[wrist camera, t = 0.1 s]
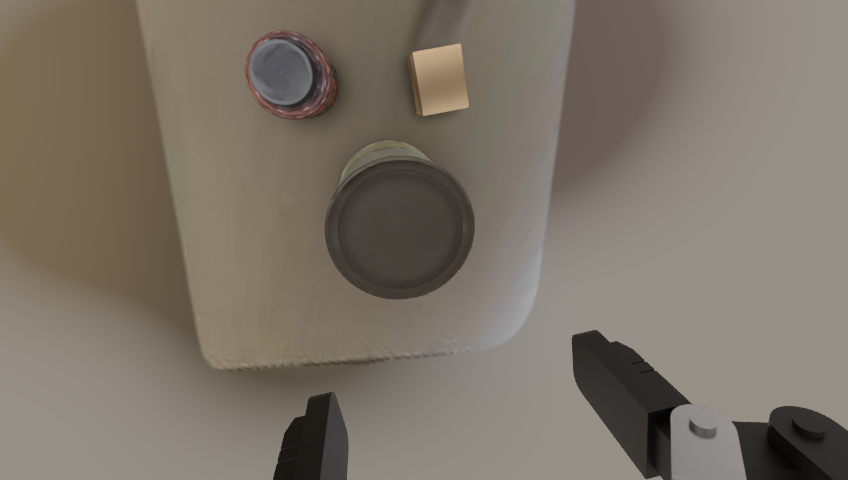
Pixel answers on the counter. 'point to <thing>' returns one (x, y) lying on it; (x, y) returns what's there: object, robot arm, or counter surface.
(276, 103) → the supplement bottle
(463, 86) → the tan metallic cube
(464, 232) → the coffee can
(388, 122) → the counter surface
